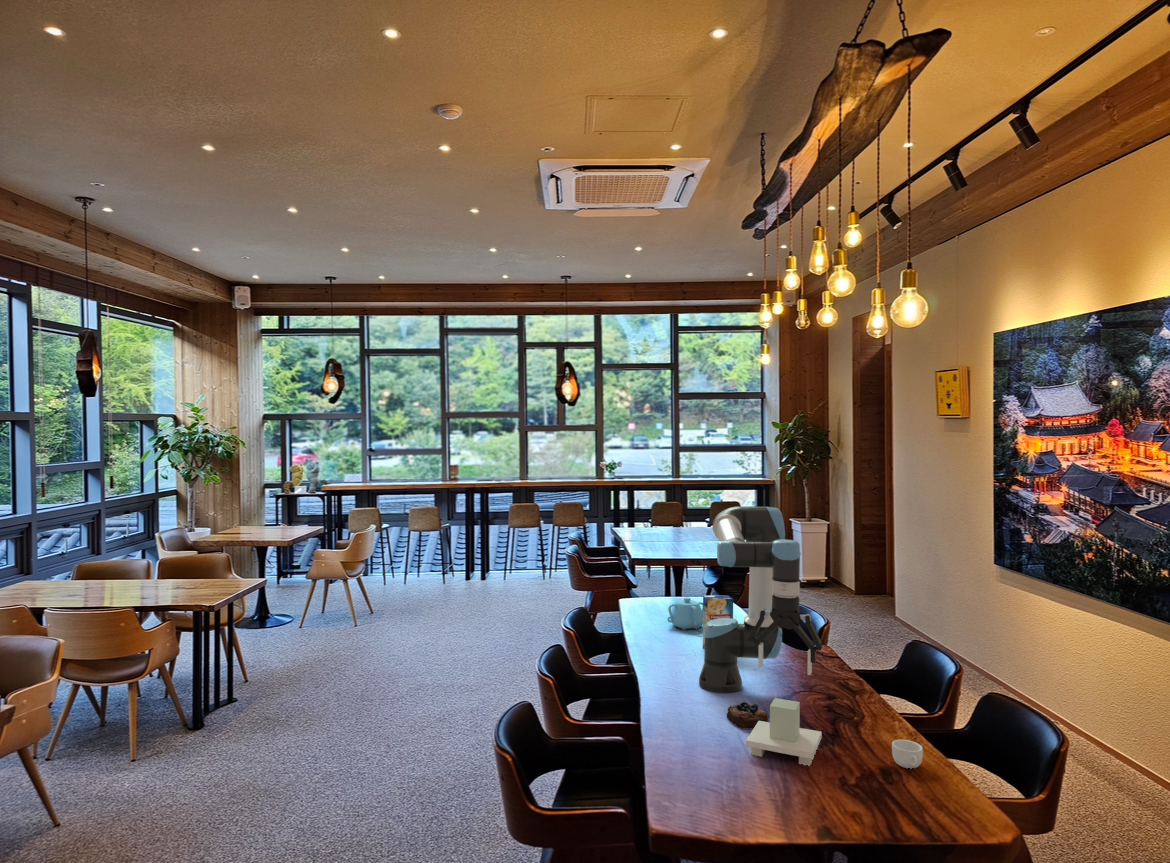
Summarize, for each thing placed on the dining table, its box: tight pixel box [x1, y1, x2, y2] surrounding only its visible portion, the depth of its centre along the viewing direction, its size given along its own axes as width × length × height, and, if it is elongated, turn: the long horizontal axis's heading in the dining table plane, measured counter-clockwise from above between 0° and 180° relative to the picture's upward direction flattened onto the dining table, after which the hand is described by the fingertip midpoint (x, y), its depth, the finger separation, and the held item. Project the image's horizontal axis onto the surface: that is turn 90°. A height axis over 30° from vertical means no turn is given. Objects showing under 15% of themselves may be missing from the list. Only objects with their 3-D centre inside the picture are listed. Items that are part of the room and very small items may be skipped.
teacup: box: [891, 739, 924, 770], centre depth 200 cm, size 10×8×5 cm
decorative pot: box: [666, 597, 703, 631], centre depth 344 cm, size 16×16×14 cm
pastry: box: [726, 700, 769, 730], centre depth 230 cm, size 11×12×6 cm
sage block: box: [769, 697, 801, 743], centre depth 208 cm, size 7×7×9 cm
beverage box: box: [702, 594, 734, 650], centre depth 307 cm, size 7×11×22 cm, turn 98°
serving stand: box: [745, 721, 823, 767], centre depth 208 cm, size 16×18×4 cm
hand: (784, 670), depth 209 cm, fingers open, 13 cm apart
